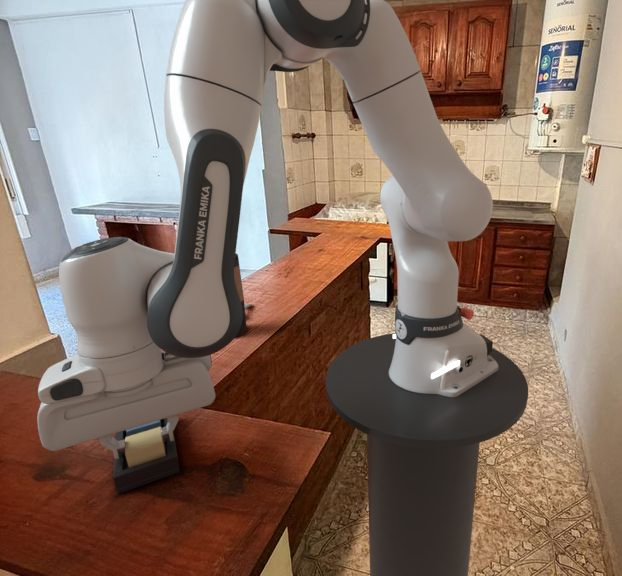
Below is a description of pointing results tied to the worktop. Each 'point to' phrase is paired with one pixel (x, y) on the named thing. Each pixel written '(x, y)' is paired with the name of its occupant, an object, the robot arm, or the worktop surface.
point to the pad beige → (144, 447)
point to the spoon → (247, 305)
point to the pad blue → (144, 428)
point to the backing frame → (144, 467)
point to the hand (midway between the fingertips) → (145, 447)
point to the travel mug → (240, 292)
